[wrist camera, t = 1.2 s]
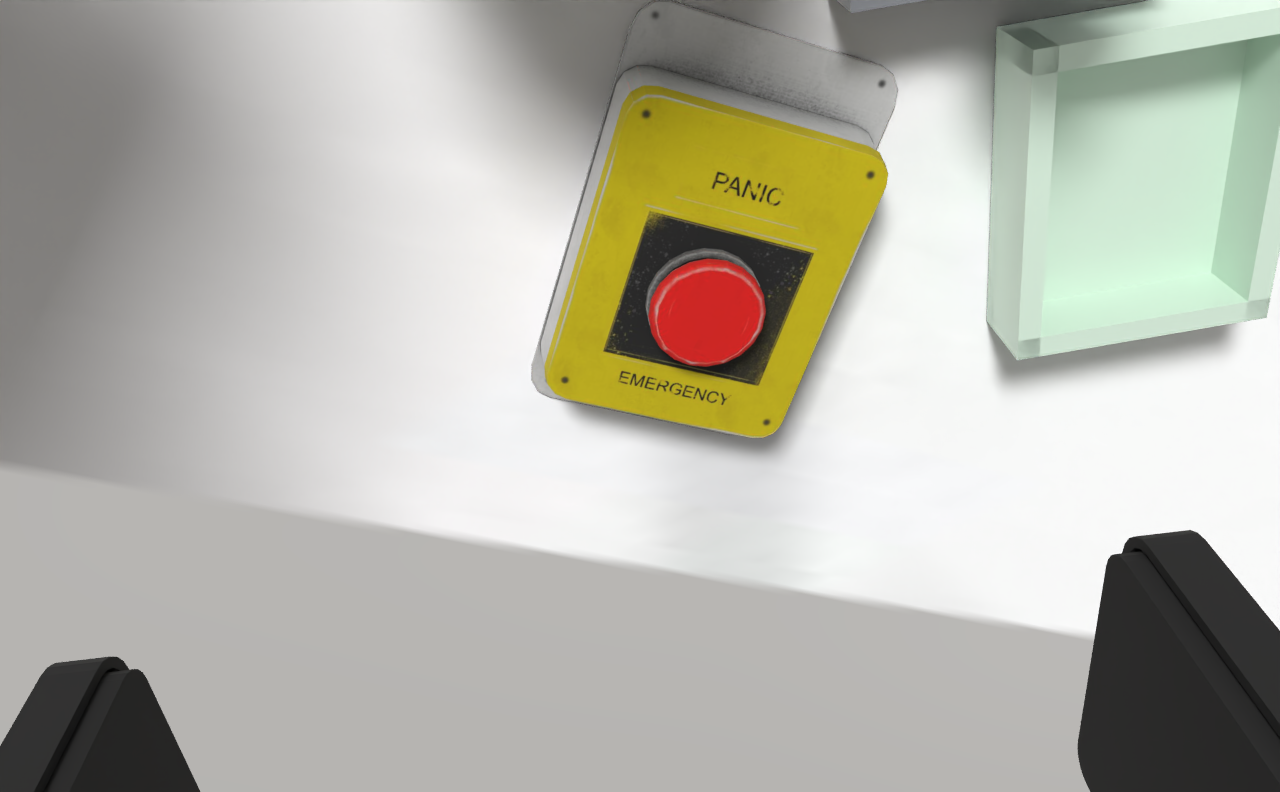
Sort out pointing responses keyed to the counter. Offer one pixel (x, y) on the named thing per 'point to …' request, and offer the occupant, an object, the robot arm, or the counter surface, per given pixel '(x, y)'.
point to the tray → (1134, 173)
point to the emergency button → (714, 222)
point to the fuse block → (871, 4)
